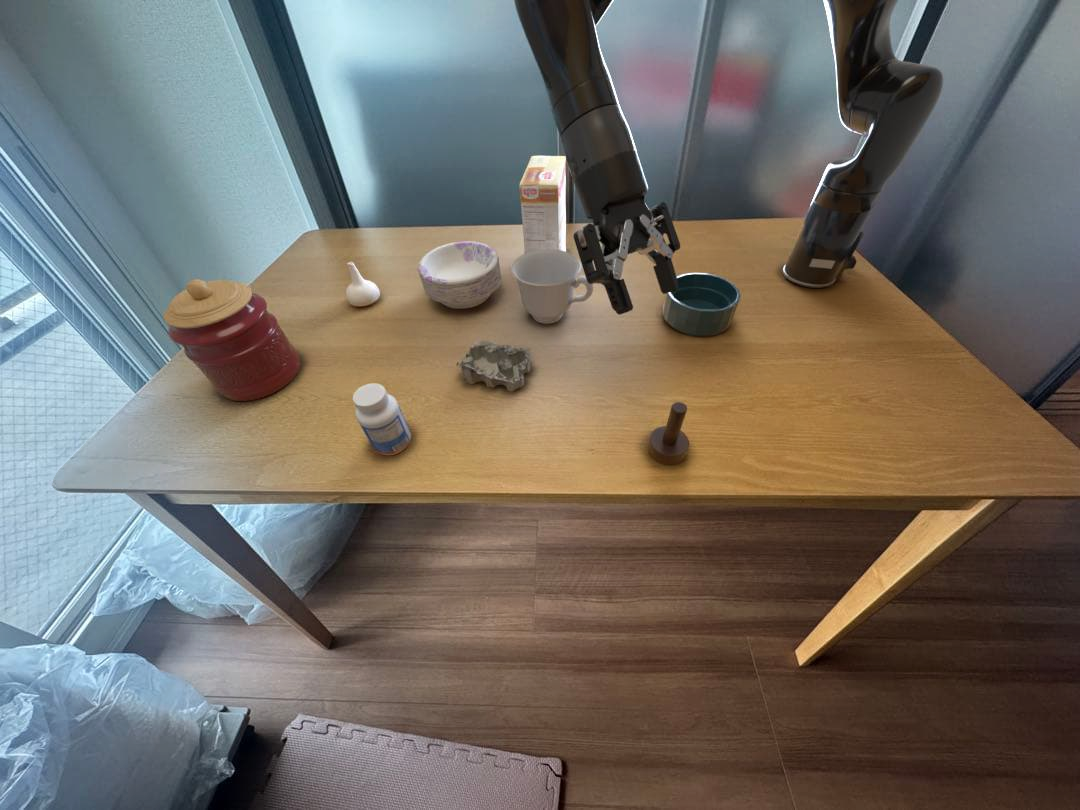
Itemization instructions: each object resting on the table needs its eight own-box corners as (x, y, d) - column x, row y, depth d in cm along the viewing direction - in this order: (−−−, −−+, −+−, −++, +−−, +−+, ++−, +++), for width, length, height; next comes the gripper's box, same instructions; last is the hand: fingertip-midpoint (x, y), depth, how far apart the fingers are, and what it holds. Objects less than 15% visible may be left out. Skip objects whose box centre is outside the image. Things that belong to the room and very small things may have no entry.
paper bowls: (412, 310, 81) (400, 272, 75) (451, 271, 90) (444, 235, 85) (481, 325, 77) (474, 287, 71) (515, 283, 86) (512, 246, 80)
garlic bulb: (357, 313, 81) (341, 276, 75) (344, 301, 84) (328, 264, 78) (387, 301, 84) (373, 264, 78) (373, 288, 87) (359, 252, 81)
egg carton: (457, 382, 67) (452, 363, 64) (477, 353, 71) (473, 334, 68) (519, 396, 64) (517, 376, 61) (535, 364, 69) (534, 345, 66)
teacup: (573, 347, 71) (574, 297, 64) (502, 322, 77) (496, 273, 70) (604, 311, 78) (609, 262, 71) (537, 290, 84) (535, 243, 76)
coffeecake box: (536, 250, 95) (530, 155, 81) (567, 251, 94) (567, 154, 80) (525, 285, 85) (517, 184, 71) (560, 287, 84) (559, 184, 70)
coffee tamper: (677, 432, 58) (690, 389, 52) (692, 461, 55) (708, 419, 48) (642, 438, 57) (652, 395, 51) (655, 467, 54) (667, 426, 48)
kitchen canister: (222, 363, 72) (148, 270, 59) (301, 342, 76) (246, 249, 63) (215, 413, 64) (126, 319, 51) (303, 387, 67) (241, 292, 54)
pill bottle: (377, 428, 61) (352, 380, 54) (414, 424, 61) (394, 376, 54) (369, 458, 57) (342, 411, 50) (409, 455, 57) (387, 407, 50)
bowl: (712, 295, 80) (720, 269, 76) (743, 332, 72) (753, 305, 68) (652, 303, 79) (657, 277, 75) (676, 342, 71) (683, 315, 67)
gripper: (578, 156, 41) (632, 313, 44) (668, 139, 48) (709, 276, 51) (538, 191, 47) (588, 326, 50) (623, 172, 54) (662, 292, 57)
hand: (649, 301), depth 51 cm, fingers open, 8 cm apart
